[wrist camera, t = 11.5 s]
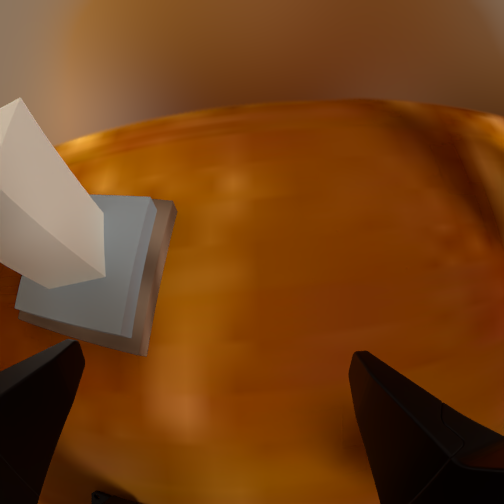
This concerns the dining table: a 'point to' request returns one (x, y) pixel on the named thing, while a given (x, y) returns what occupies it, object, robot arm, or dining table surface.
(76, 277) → the ivory pillar block
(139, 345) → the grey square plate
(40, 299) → the slate top slab
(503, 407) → the dining table surface
